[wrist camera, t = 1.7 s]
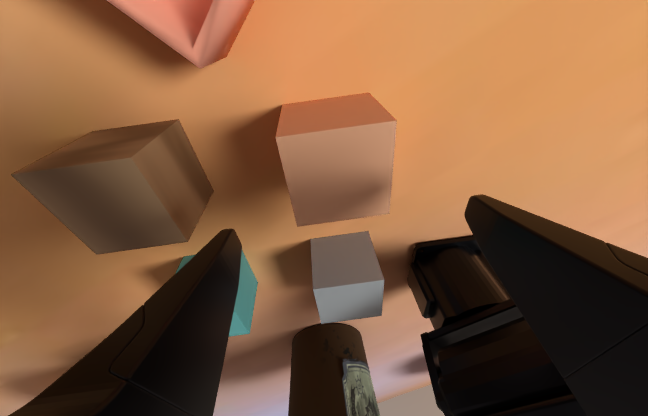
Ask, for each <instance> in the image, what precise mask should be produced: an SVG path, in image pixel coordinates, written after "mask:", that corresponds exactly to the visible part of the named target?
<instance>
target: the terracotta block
mask: <svg viewBox="0 0 648 416" xmlns="http://www.w3.org/2000/svg"><path fill="white" fill-rule="evenodd" d="M396 124H397V120H396V119H395V118H394V117H393V116H392V115H391V114H390V113H389V112H388V111H387V110H386V109H385V108H384V107H383V106H382V105H381V104H380V103H379V102H378V101H377V100H376V99H375V98H374V97H373V96H372V95H371V94H370V93H363V94H356V95H348V96H341V97H334V98H327V99H320V100H313V101H306V102H299V103H291V104H284V105H282V109H281V114H280V118H279V123H278V128H277V132H276V137H275V138H276V142H277V146H278V150H279V154H280V158H281V162H282V166H283V170H284V174H285V178H286V182H287V187H288V191H289V195H290V199H291V203H292V207H293V211H294V215H295V219H296V223H297V227H298V226H305V225H313V224H320V223H327V222H335V221H342V220H349V219H357V218H364V217H371V216H378V215H386V214H389V212H390V200H391V187H392V174H393V162H394V149H395V136H396Z"/></svg>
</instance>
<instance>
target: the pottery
mask: <svg viewBox="0 0 648 416" xmlns="http://www.w3.org/2000/svg"><path fill="white" fill-rule="evenodd" d="M107 1H108V2H110V3H111V4H112V5H114V6H115V7H116V8H118V9H119V10H121V11H122V12H123V13H125V14H126V15H127V16H129V17H130V18H132V19H133V20H134V21H136V22H137V23H138V24H140V25H141V26H142V27H144V28H145V29H147V30H148V31H149V32H151V33H152V34H153V35H155V36H156V37H158V38H159V39H160V40H162V41H163V42H164V43H166V44H167V45H168V46H170V47H171V48H173V49H174V50H175V51H177V52H178V53H179V54H181V55H182V56H184V57H185V58H186V59H188V60H189V61H190V62H192V63H193V64H194V65H196V66H197V67H199V68H203V67H205V66H207V65H209V64H212V63H214V62H216V61H218V60H220V59H223V58H225V57H227V55H228V53H229V51H230V49H231V47H232V45H233V43H234V41H235V39H236V37H237V35H238V33H239V31H240V29H241V27H242V25H243V23H244V21H245V19H246V17H247V15H248V13H249V11H250V9H251V7H252V5H253V3H254V1H255V0H107Z"/></svg>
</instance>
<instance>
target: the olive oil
mask: <svg viewBox="0 0 648 416" xmlns="http://www.w3.org/2000/svg"><path fill="white" fill-rule="evenodd" d="M288 416H380V414H379V409H378V405H377V401H376V397H375V393H374V389H373V384H372V380H371V376H370V371H369V367H368V363H367V359H366V355H365V350H364V346H363V341H362V337H361V334H360V332H359V331H358V330H357V329H355V328H354V327H352V326H349V325H345V324H337V323H330V324H321V325H316V326H312V327H309V328H307V329H304V330H303V331H301V332H299V333H298V334H297V335H296V336H295V337H294V339H293V342H292V358H291V379H290V397H289V413H288Z"/></svg>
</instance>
